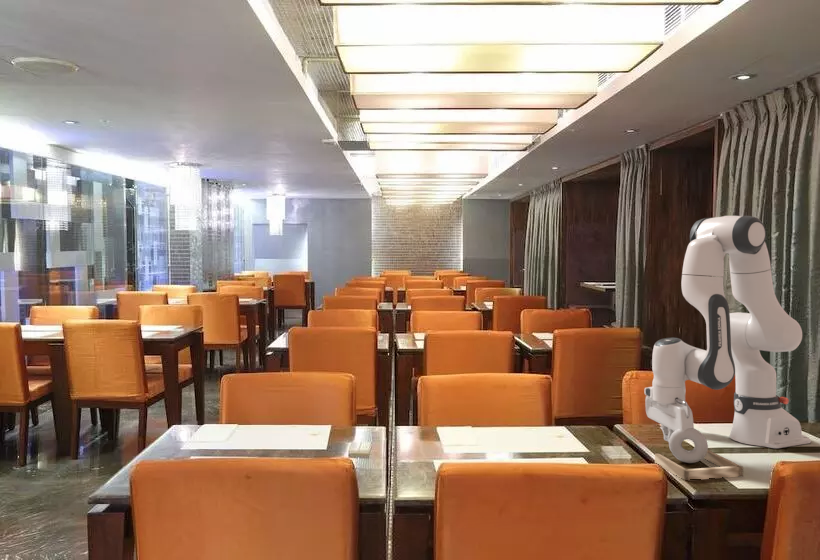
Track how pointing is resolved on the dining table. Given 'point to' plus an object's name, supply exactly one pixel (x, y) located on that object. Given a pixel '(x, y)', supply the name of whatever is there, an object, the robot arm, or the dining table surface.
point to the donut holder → (724, 470)
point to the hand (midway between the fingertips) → (669, 441)
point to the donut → (683, 454)
